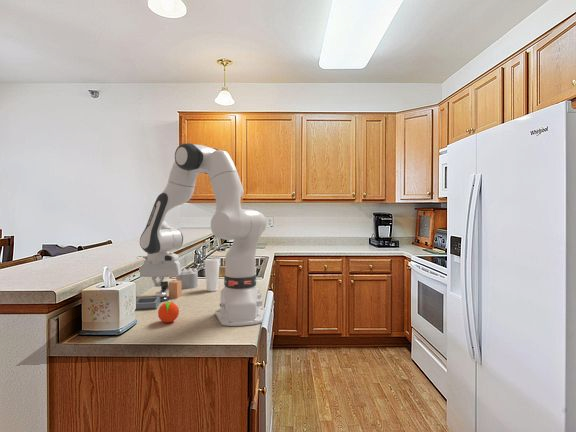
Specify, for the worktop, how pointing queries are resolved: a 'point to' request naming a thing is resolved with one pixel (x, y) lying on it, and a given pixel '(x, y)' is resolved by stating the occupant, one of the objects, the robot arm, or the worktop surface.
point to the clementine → (168, 312)
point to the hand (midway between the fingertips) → (158, 286)
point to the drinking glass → (212, 274)
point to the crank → (163, 290)
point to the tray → (147, 303)
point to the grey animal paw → (188, 278)
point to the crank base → (164, 299)
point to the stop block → (175, 289)
